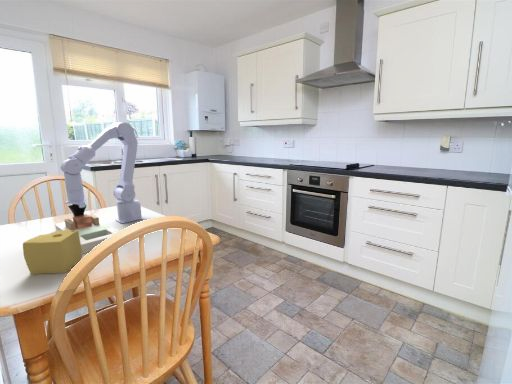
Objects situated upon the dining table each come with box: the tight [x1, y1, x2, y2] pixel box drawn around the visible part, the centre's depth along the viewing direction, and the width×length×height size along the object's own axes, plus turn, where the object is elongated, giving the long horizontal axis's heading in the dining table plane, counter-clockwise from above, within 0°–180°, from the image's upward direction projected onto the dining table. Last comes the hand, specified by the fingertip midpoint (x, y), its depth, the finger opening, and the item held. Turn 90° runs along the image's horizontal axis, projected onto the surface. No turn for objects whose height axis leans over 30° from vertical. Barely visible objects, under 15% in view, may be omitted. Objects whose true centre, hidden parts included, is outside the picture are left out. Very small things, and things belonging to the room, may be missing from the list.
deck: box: [54, 213, 119, 254], centre depth 110 cm, size 14×33×6 cm, turn 47°
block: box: [72, 213, 92, 229], centre depth 113 cm, size 5×5×4 cm
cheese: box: [22, 230, 83, 275], centre depth 84 cm, size 10×11×10 cm
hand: (79, 221), depth 115 cm, fingers closed
